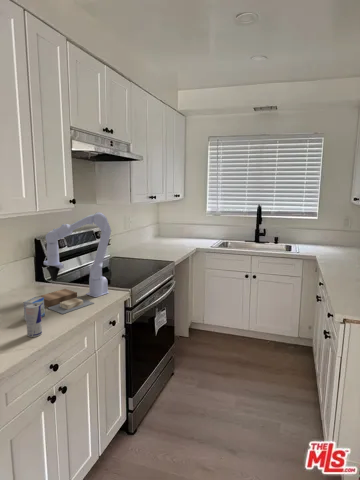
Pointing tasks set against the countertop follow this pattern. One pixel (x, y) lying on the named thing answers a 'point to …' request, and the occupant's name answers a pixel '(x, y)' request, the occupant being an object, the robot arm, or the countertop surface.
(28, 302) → the medicine box
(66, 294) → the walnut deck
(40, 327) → the energy drink
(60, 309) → the slate mat
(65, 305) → the birch tile
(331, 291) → the countertop surface
